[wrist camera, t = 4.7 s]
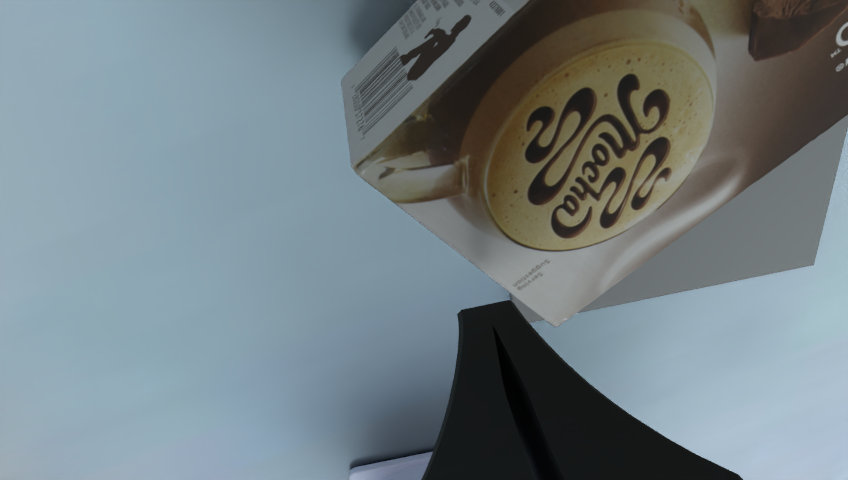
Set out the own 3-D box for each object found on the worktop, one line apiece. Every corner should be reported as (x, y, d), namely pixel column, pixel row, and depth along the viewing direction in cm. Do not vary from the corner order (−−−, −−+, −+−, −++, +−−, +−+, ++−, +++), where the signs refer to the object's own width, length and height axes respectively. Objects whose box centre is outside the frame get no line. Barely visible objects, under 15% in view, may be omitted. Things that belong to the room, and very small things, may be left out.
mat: (806, 258, 26) (813, 264, 26) (513, 318, 26) (515, 325, 26) (903, -153, 17) (916, -154, 17) (468, -62, 18) (470, -61, 17)
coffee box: (499, 223, 23) (879, -87, 18) (555, 336, 18) (1105, -53, 13) (333, 74, 18) (791, -406, 13) (345, 170, 13) (1096, -553, 8)
